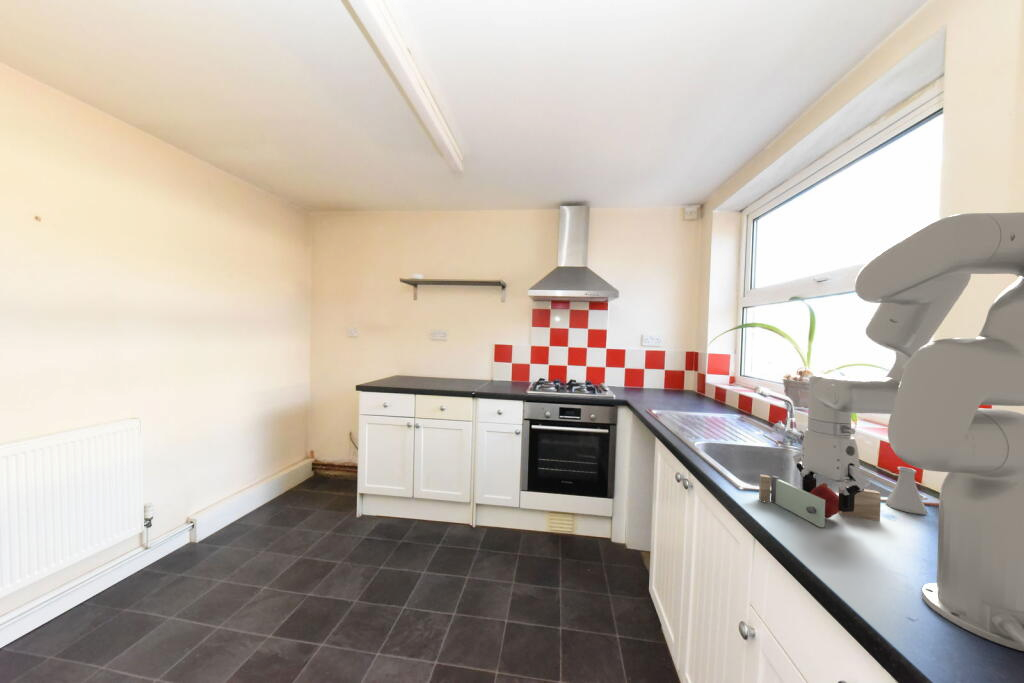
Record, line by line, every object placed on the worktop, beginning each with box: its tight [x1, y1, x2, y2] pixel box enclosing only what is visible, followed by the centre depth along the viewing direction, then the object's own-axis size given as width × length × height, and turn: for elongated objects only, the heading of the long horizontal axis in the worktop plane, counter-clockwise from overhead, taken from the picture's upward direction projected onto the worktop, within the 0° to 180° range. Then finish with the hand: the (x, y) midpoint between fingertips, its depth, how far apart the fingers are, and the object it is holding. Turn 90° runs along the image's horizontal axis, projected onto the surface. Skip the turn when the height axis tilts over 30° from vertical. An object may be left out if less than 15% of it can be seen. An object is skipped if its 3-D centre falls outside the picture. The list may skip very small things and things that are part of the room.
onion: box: [810, 481, 839, 519], centre depth 83 cm, size 6×6×8 cm
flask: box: [884, 466, 928, 516], centre depth 89 cm, size 7×7×10 cm
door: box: [770, 475, 826, 528], centre depth 85 cm, size 2×13×6 cm, turn 7°
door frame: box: [758, 474, 882, 522], centre depth 87 cm, size 2×23×6 cm, turn 67°
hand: (826, 501), depth 83 cm, fingers open, 8 cm apart
